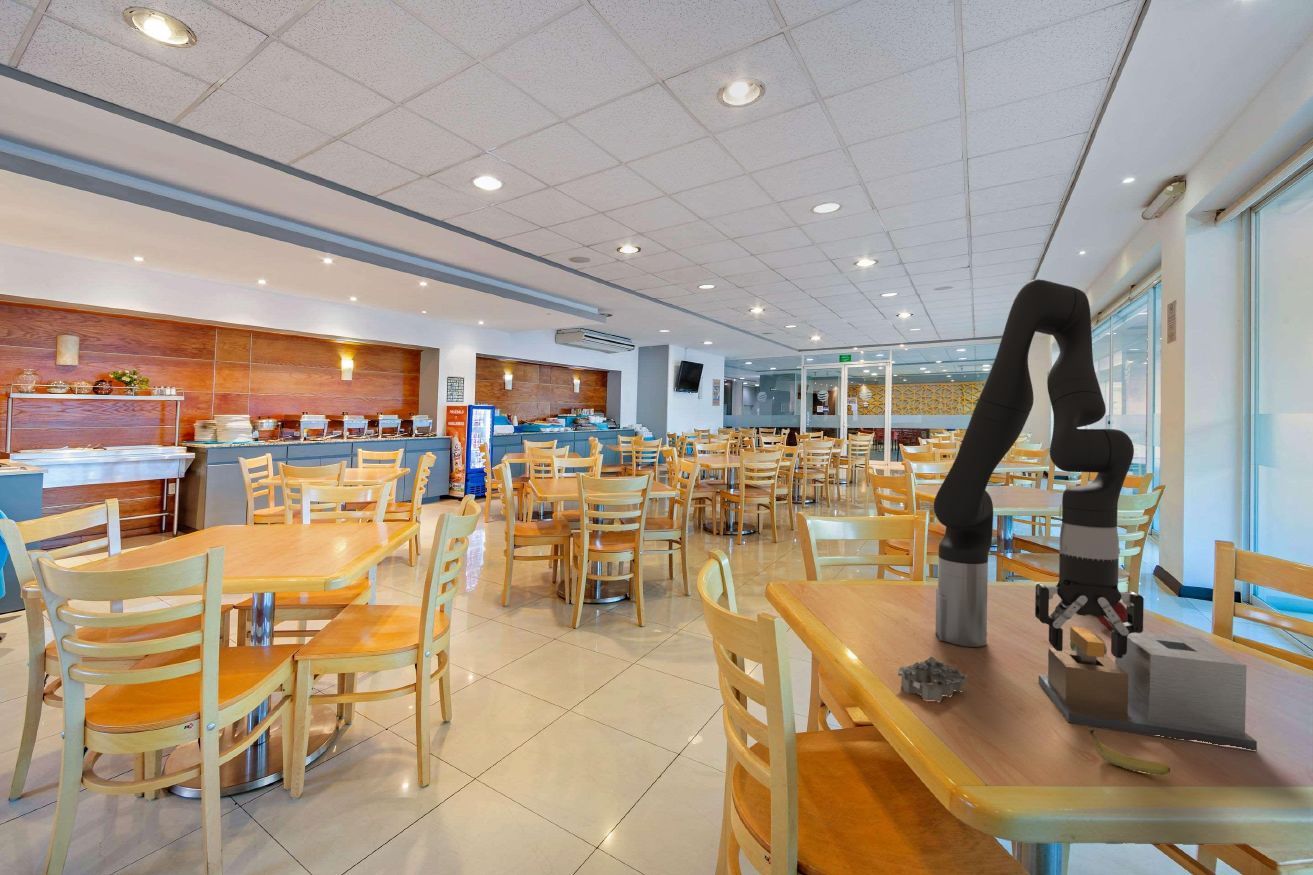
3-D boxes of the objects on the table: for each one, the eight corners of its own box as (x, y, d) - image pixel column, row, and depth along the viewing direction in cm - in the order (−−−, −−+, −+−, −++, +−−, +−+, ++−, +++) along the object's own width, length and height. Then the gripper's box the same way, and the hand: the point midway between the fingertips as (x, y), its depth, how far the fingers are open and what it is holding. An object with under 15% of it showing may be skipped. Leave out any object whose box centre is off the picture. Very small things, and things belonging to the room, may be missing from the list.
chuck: (1068, 722, 83) (1070, 648, 83) (1038, 682, 97) (1039, 618, 96) (1256, 751, 76) (1258, 670, 76) (1196, 704, 89) (1197, 634, 89)
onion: (1135, 634, 120) (1136, 598, 119) (1108, 634, 120) (1109, 598, 120) (1113, 625, 125) (1114, 590, 125) (1088, 625, 126) (1088, 590, 125)
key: (1103, 695, 85) (1104, 643, 85) (1086, 693, 86) (1087, 641, 85) (1085, 676, 91) (1086, 627, 91) (1069, 674, 92) (1070, 626, 92)
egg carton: (932, 707, 88) (933, 682, 88) (892, 688, 95) (893, 664, 95) (972, 692, 93) (972, 668, 93) (931, 674, 100) (931, 652, 100)
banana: (1087, 760, 74) (1088, 731, 74) (1088, 754, 75) (1088, 725, 75) (1170, 786, 69) (1170, 754, 69) (1169, 779, 70) (1170, 748, 70)
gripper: (1131, 550, 89) (1129, 650, 90) (1029, 544, 94) (1027, 638, 94) (1155, 561, 82) (1153, 669, 82) (1044, 553, 87) (1042, 655, 87)
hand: (1086, 652), depth 88 cm, fingers open, 7 cm apart
